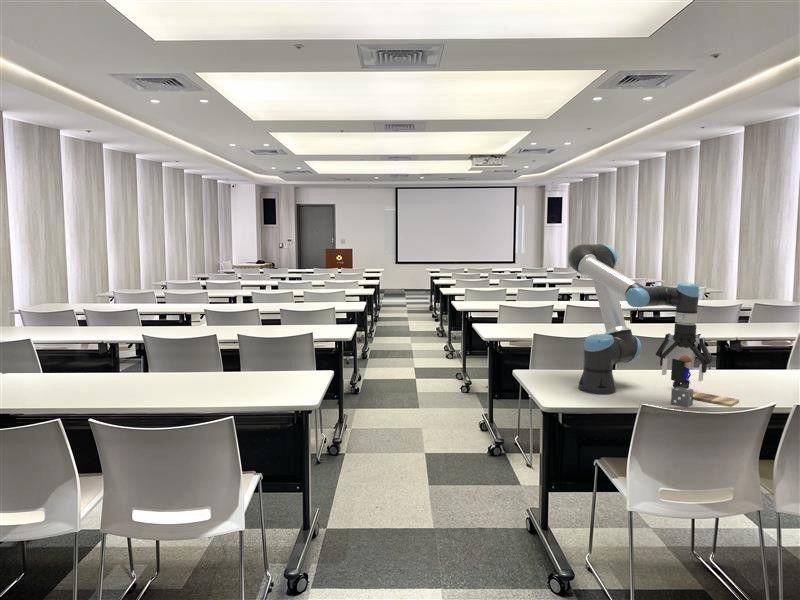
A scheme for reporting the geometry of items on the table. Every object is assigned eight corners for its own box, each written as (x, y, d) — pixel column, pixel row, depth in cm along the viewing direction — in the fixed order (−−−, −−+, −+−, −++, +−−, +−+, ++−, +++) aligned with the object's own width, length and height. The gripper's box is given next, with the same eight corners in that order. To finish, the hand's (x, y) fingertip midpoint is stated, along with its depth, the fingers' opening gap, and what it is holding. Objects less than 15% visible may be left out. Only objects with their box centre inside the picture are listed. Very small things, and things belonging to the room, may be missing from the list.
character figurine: (693, 392, 244) (695, 357, 242) (674, 392, 245) (676, 356, 243) (687, 388, 251) (688, 354, 250) (669, 387, 252) (670, 353, 251)
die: (670, 404, 226) (671, 389, 225) (676, 401, 230) (677, 386, 230) (687, 407, 222) (688, 392, 221) (692, 404, 226) (693, 389, 226)
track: (674, 396, 238) (674, 393, 238) (683, 392, 245) (683, 389, 245) (730, 406, 223) (731, 404, 223) (738, 401, 230) (739, 399, 230)
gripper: (649, 320, 230) (645, 373, 232) (717, 328, 212) (713, 385, 214) (656, 318, 235) (653, 370, 237) (724, 326, 217) (720, 381, 219)
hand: (682, 377), depth 226 cm, fingers open, 13 cm apart
